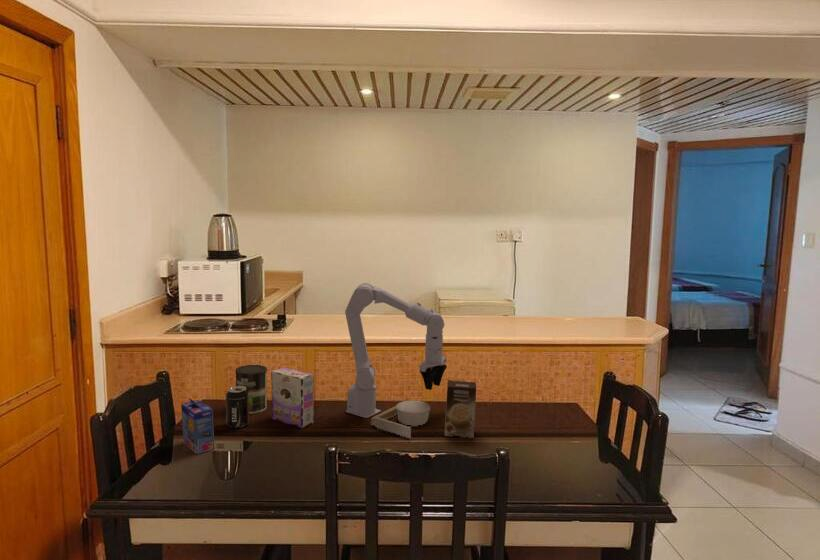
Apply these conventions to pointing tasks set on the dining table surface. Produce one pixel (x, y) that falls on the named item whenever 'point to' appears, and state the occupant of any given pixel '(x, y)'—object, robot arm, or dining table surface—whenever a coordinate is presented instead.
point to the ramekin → (413, 412)
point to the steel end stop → (393, 427)
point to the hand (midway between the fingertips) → (432, 387)
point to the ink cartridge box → (197, 426)
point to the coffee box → (460, 409)
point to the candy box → (292, 397)
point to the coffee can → (253, 385)
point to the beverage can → (237, 407)
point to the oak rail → (385, 415)
